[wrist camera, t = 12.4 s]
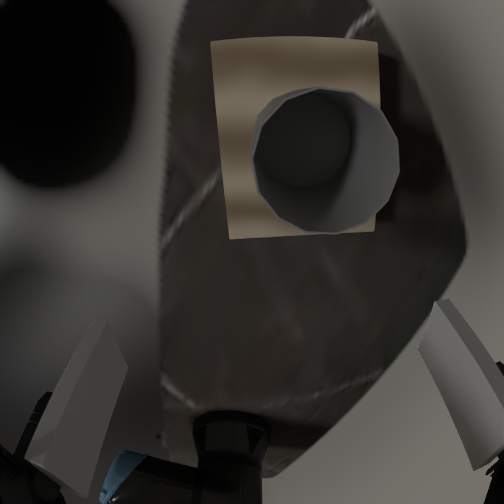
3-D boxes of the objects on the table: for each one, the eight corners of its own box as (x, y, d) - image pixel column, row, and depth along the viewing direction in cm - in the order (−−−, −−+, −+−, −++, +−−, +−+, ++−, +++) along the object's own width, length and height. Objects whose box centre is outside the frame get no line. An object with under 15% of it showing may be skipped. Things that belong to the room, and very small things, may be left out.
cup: (330, 78, 22) (374, 69, 13) (361, 165, 25) (413, 204, 16) (235, 113, 23) (224, 123, 15) (274, 199, 27) (284, 254, 18)
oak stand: (361, 215, 32) (374, 231, 28) (232, 222, 32) (229, 239, 29) (362, 47, 23) (377, 42, 20) (216, 48, 24) (210, 41, 20)
